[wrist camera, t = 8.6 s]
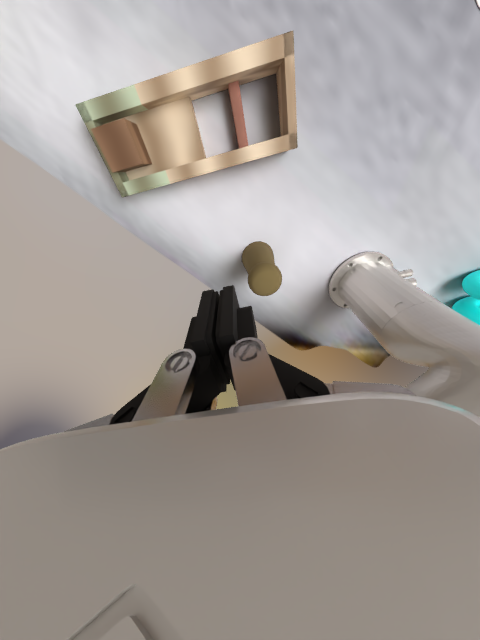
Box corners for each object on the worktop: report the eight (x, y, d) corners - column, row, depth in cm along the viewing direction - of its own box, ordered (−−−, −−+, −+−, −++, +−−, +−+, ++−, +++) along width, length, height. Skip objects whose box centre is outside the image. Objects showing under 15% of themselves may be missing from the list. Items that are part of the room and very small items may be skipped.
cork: (279, 256, 38) (295, 283, 30) (257, 278, 41) (265, 308, 32) (258, 234, 36) (267, 256, 27) (235, 258, 38) (237, 286, 29)
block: (136, 124, 25) (123, 118, 22) (152, 163, 27) (142, 163, 24) (107, 133, 25) (90, 128, 22) (125, 171, 28) (112, 172, 25)
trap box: (283, 51, 23) (293, 30, 20) (288, 150, 29) (297, 147, 25) (96, 113, 26) (75, 104, 22) (134, 193, 31) (122, 197, 27)
